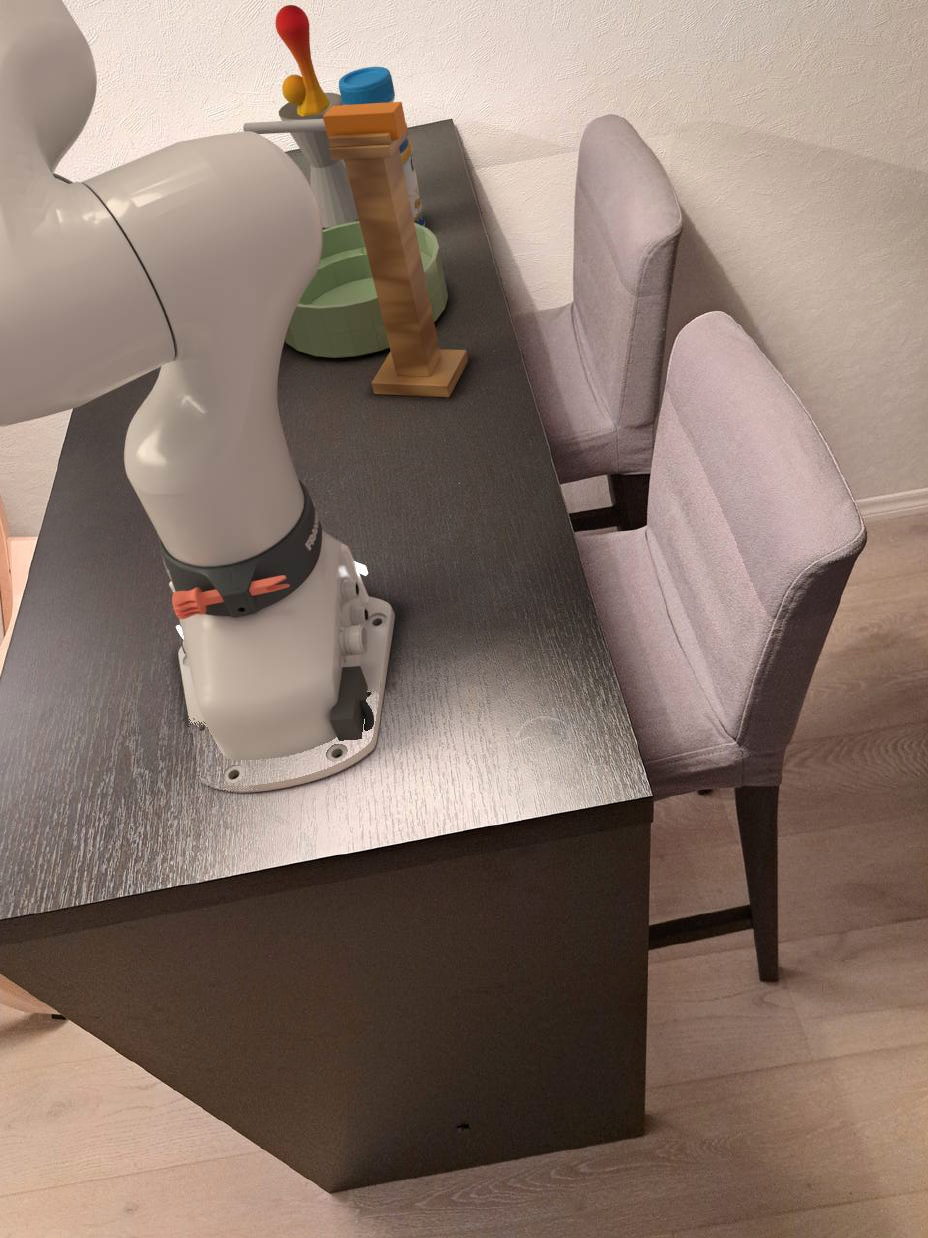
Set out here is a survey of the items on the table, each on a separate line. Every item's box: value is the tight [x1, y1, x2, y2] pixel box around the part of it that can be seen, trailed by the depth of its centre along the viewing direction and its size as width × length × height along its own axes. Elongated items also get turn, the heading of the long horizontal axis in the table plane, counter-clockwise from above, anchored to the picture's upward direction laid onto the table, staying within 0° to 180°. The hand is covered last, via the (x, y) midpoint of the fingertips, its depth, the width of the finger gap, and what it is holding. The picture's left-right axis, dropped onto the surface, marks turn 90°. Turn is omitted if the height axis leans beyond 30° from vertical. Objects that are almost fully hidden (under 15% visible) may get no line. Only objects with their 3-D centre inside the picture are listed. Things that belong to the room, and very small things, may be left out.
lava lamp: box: [274, 4, 359, 229], centre depth 126 cm, size 9×9×35 cm
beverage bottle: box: [338, 66, 426, 227], centre depth 125 cm, size 8×8×20 cm
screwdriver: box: [242, 101, 408, 140], centre depth 88 cm, size 16×2×2 cm, turn 73°
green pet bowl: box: [284, 220, 449, 359], centre depth 115 cm, size 21×21×7 cm
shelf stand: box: [328, 123, 469, 398], centre depth 96 cm, size 9×7×27 cm
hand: (231, 161), depth 93 cm, fingers open, 8 cm apart
